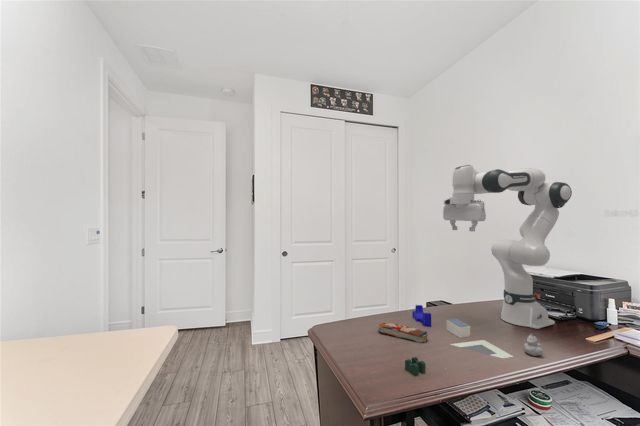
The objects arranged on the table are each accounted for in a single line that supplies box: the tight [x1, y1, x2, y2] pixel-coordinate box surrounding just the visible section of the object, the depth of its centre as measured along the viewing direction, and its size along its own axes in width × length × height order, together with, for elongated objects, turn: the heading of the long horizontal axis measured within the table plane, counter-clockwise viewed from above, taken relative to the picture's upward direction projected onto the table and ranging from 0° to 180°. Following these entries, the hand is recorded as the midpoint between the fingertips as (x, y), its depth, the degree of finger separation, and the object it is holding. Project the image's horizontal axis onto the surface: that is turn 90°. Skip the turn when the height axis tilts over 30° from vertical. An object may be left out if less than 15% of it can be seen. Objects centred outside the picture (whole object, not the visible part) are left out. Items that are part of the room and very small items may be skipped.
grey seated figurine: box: [523, 333, 543, 357], centre depth 99 cm, size 5×7×8 cm
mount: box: [404, 356, 426, 377], centre depth 86 cm, size 11×4×5 cm, turn 119°
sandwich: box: [378, 322, 429, 343], centre depth 112 cm, size 11×20×5 cm, turn 47°
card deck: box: [446, 318, 471, 339], centre depth 116 cm, size 5×8×5 cm, turn 13°
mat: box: [449, 339, 514, 359], centre depth 100 cm, size 18×13×1 cm
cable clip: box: [412, 304, 432, 328], centre depth 129 cm, size 12×4×6 cm, turn 179°
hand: (463, 230), depth 124 cm, fingers open, 8 cm apart
